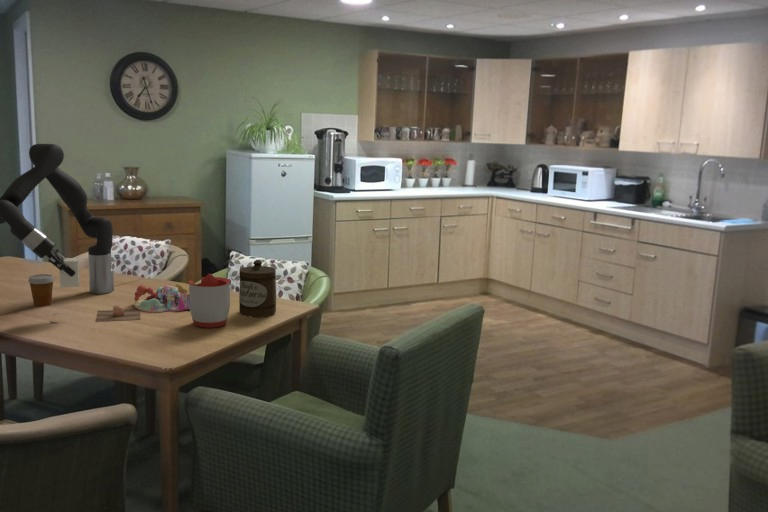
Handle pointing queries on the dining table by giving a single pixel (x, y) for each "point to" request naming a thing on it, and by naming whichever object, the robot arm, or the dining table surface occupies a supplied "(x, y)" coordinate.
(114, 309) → the glossy tan pebble
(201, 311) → the citrus juicer
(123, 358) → the dining table surface
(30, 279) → the disposable coffee cup
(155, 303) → the pastel sphere sculpture
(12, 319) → the dining table surface
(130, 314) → the board
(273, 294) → the wooden container
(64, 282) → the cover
